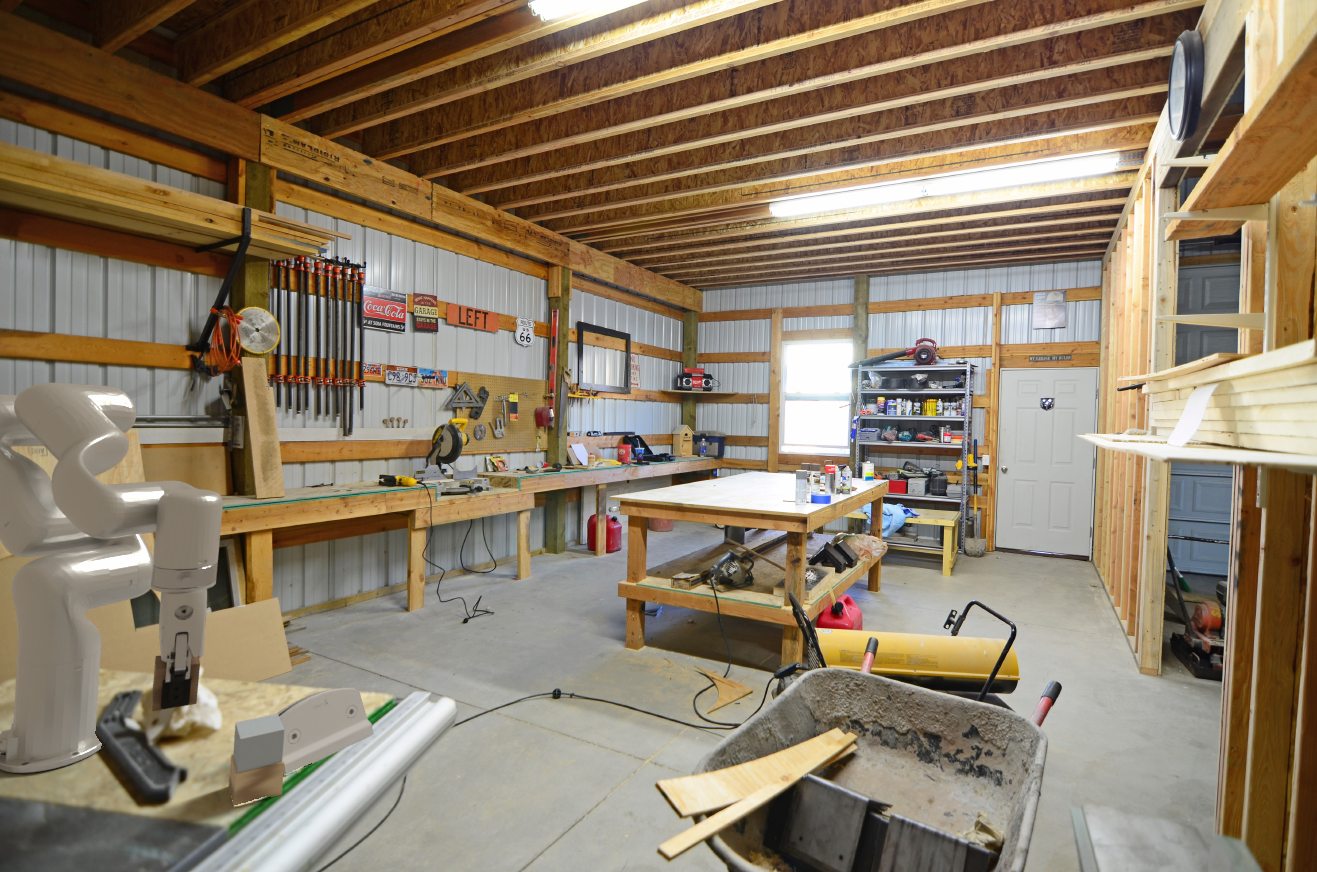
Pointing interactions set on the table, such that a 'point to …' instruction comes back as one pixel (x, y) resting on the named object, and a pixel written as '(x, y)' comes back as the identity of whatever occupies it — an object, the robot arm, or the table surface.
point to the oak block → (255, 782)
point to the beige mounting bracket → (322, 726)
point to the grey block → (258, 742)
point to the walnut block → (160, 676)
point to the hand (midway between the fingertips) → (174, 696)
